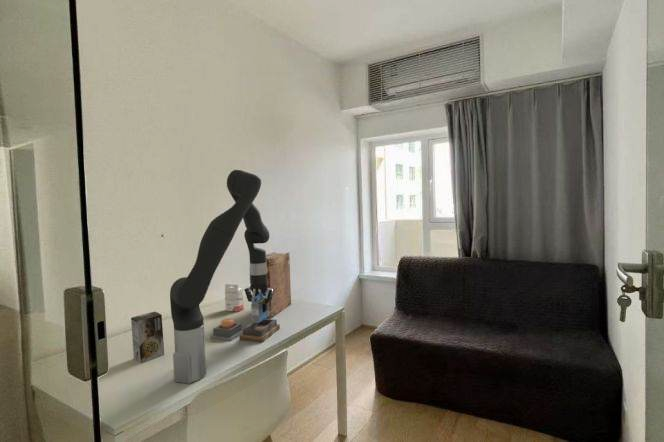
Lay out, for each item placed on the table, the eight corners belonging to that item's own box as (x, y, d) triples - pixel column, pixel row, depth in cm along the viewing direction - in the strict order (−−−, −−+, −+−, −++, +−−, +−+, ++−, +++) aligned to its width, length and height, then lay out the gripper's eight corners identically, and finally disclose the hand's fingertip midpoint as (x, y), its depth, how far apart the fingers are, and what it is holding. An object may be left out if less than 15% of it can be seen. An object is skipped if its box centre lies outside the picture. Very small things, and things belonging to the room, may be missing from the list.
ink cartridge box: (244, 309, 192) (242, 282, 192) (239, 311, 188) (237, 284, 187) (230, 308, 195) (229, 282, 194) (225, 310, 190) (224, 284, 189)
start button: (229, 330, 151) (229, 322, 151) (219, 329, 152) (218, 321, 152) (236, 326, 156) (235, 318, 156) (226, 325, 157) (225, 318, 157)
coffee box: (157, 350, 139) (155, 311, 138) (164, 354, 135) (162, 313, 134) (132, 358, 132) (130, 317, 131) (140, 363, 128) (137, 320, 127)
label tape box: (261, 316, 158) (260, 289, 158) (269, 316, 157) (268, 289, 157) (251, 322, 150) (250, 294, 149) (259, 323, 149) (258, 294, 148)
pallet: (262, 342, 145) (262, 331, 144) (239, 339, 148) (239, 329, 148) (279, 328, 160) (279, 319, 160) (258, 326, 163) (258, 317, 163)
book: (276, 303, 202) (274, 252, 200) (291, 304, 199) (289, 252, 198) (254, 317, 178) (252, 259, 176) (271, 318, 175) (269, 259, 173)
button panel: (231, 340, 147) (231, 331, 147) (209, 338, 151) (209, 329, 151) (245, 331, 158) (245, 322, 158) (224, 329, 161) (224, 320, 161)
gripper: (276, 271, 154) (278, 309, 155) (248, 270, 158) (250, 307, 159) (268, 275, 147) (270, 315, 148) (239, 274, 151) (241, 312, 152)
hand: (260, 311), depth 153 cm, fingers closed on label tape box, 4 cm apart
